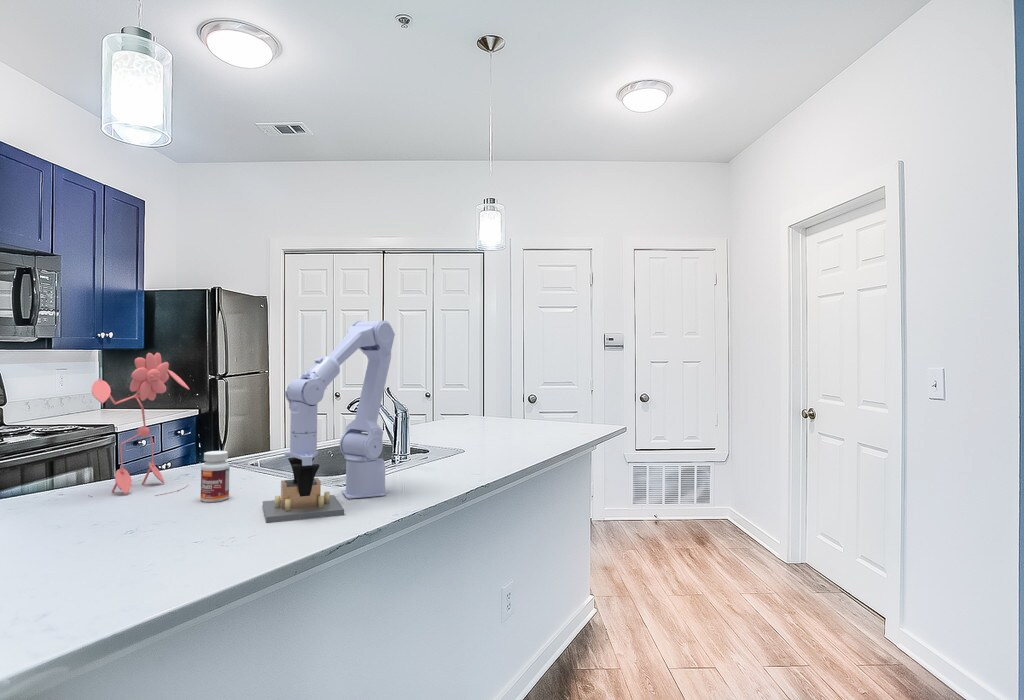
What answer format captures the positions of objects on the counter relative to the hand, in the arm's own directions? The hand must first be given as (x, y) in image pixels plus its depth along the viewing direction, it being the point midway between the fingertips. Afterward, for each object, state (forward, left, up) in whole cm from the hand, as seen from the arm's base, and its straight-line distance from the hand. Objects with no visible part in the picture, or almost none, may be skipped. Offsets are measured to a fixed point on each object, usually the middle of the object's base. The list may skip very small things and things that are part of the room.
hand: (302, 491), depth 135 cm
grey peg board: (0, 0, -4) cm, 4 cm away
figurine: (+33, -34, -4) cm, 48 cm away
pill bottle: (+18, -18, -4) cm, 26 cm away
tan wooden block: (0, 0, -3) cm, 3 cm away
